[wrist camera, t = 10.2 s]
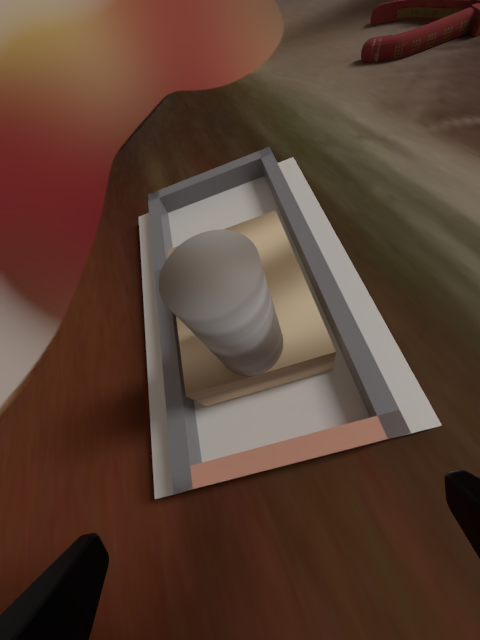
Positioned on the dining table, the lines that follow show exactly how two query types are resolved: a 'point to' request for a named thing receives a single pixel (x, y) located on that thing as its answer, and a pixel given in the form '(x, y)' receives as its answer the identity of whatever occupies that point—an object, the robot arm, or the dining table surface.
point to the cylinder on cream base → (243, 312)
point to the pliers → (421, 4)
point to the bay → (287, 399)
